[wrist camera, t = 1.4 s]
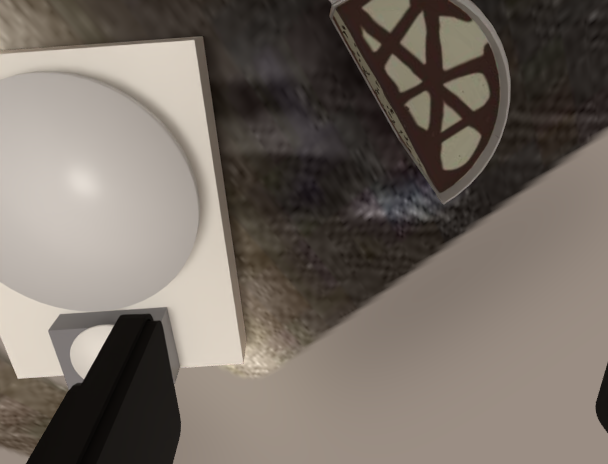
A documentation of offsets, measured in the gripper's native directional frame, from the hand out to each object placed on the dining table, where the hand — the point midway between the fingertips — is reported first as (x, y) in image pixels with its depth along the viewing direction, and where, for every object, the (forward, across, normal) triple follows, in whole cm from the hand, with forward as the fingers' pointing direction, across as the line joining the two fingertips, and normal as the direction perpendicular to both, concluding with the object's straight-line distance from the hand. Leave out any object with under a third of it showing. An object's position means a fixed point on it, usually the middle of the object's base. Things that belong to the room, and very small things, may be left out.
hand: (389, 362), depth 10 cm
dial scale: (+26, +16, +7) cm, 31 cm away
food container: (+26, -5, -3) cm, 27 cm away
